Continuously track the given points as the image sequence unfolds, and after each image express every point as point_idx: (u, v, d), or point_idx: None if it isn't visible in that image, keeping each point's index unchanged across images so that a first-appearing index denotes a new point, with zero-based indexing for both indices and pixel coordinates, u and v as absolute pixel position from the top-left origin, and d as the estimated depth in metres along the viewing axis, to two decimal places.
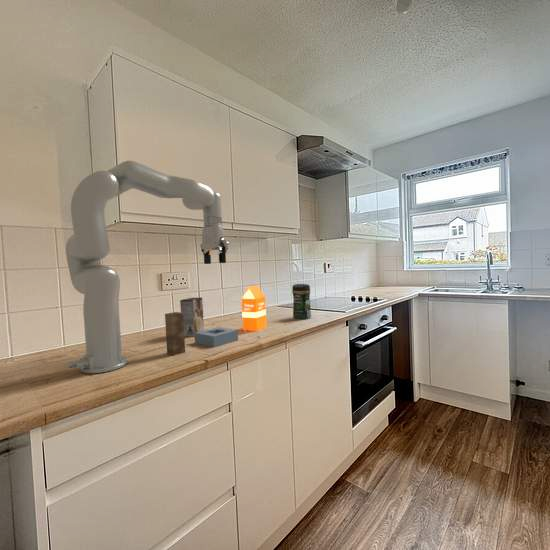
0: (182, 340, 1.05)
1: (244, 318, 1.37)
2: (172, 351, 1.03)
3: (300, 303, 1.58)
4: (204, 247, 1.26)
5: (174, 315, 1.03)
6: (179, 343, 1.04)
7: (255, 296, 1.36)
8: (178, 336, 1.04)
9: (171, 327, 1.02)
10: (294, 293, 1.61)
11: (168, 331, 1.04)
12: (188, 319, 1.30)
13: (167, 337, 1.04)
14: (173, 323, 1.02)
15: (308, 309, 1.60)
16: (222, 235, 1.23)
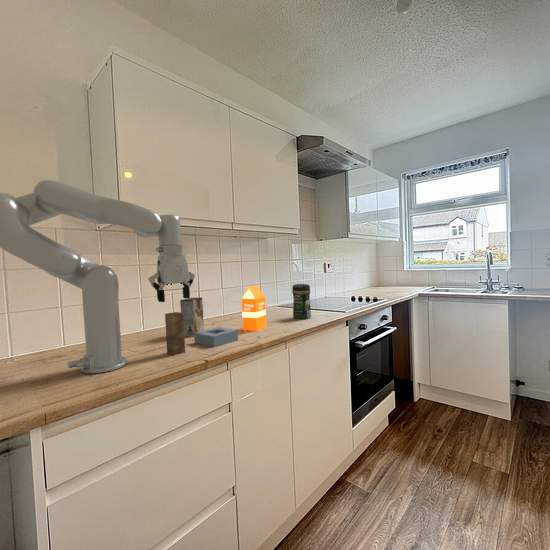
0: (182, 340, 1.05)
1: (244, 318, 1.37)
2: (172, 351, 1.03)
3: (300, 303, 1.58)
4: (169, 281, 1.01)
5: (174, 315, 1.03)
6: (179, 343, 1.04)
7: (255, 296, 1.36)
8: (178, 336, 1.04)
9: (171, 327, 1.02)
10: (294, 293, 1.61)
11: (168, 331, 1.04)
12: (188, 319, 1.30)
13: (167, 337, 1.04)
14: (173, 323, 1.02)
15: (308, 309, 1.60)
16: None
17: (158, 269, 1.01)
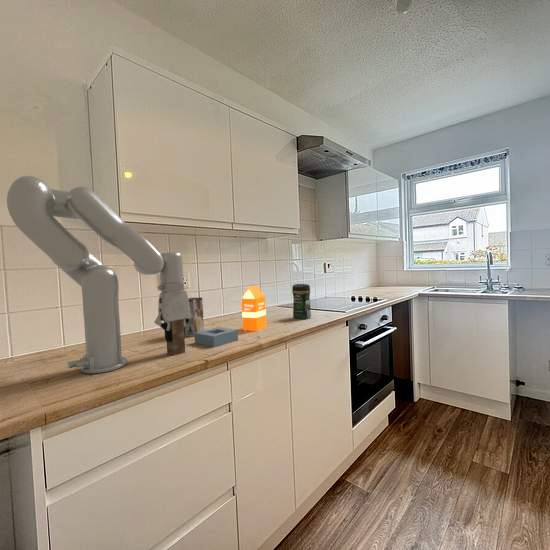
0: (182, 339, 1.05)
1: (244, 318, 1.37)
2: (172, 351, 1.03)
3: (300, 303, 1.58)
4: (171, 318, 1.01)
5: None
6: (179, 343, 1.04)
7: (255, 296, 1.36)
8: (178, 336, 1.04)
9: (171, 327, 1.02)
10: (294, 293, 1.61)
11: None
12: None
13: None
14: (173, 323, 1.02)
15: (308, 309, 1.60)
16: None
17: (159, 306, 1.01)
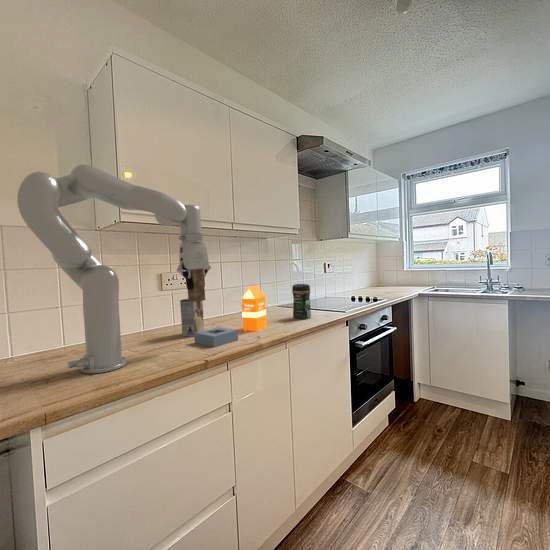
0: (202, 288, 1.11)
1: (244, 318, 1.37)
2: (194, 298, 1.09)
3: (300, 303, 1.58)
4: (191, 267, 1.07)
5: None
6: (199, 290, 1.10)
7: (255, 296, 1.36)
8: (198, 284, 1.10)
9: (192, 275, 1.09)
10: (294, 293, 1.61)
11: None
12: (188, 319, 1.30)
13: None
14: (193, 271, 1.09)
15: (308, 309, 1.60)
16: None
17: (180, 256, 1.08)
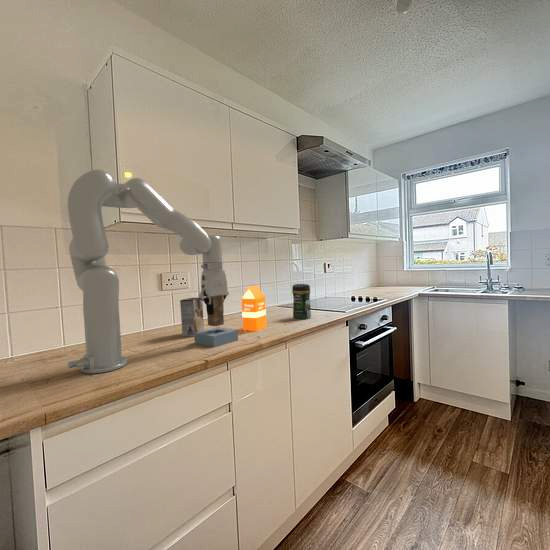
0: (221, 313, 1.18)
1: (244, 318, 1.37)
2: (213, 323, 1.16)
3: (300, 303, 1.58)
4: (212, 294, 1.15)
5: None
6: (218, 315, 1.17)
7: (255, 296, 1.36)
8: (218, 309, 1.17)
9: (213, 301, 1.16)
10: (294, 293, 1.61)
11: None
12: (188, 319, 1.30)
13: None
14: (214, 297, 1.16)
15: (308, 309, 1.60)
16: None
17: (202, 283, 1.15)
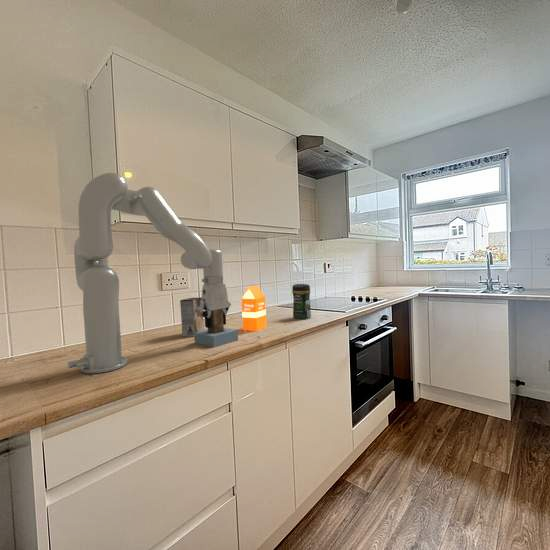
0: (221, 330, 1.18)
1: (244, 318, 1.37)
2: None
3: (300, 303, 1.58)
4: (213, 308, 1.15)
5: None
6: (219, 332, 1.17)
7: (255, 296, 1.36)
8: (218, 326, 1.17)
9: (213, 318, 1.16)
10: (294, 293, 1.61)
11: None
12: (188, 319, 1.30)
13: None
14: (214, 315, 1.16)
15: (308, 309, 1.60)
16: None
17: (203, 297, 1.15)
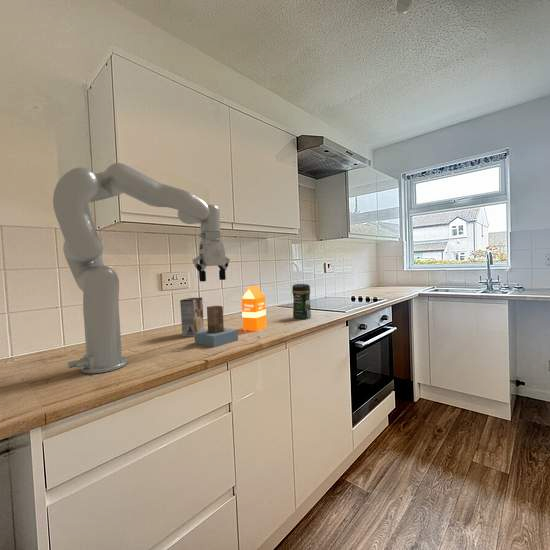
0: (221, 330, 1.18)
1: (244, 318, 1.37)
2: None
3: (300, 303, 1.58)
4: (210, 263, 1.14)
5: (215, 308, 1.16)
6: (219, 332, 1.17)
7: (255, 296, 1.36)
8: (218, 326, 1.17)
9: (213, 318, 1.16)
10: (294, 293, 1.61)
11: (210, 322, 1.17)
12: (188, 319, 1.30)
13: (209, 327, 1.18)
14: (214, 315, 1.16)
15: (308, 309, 1.60)
16: None
17: (200, 252, 1.14)
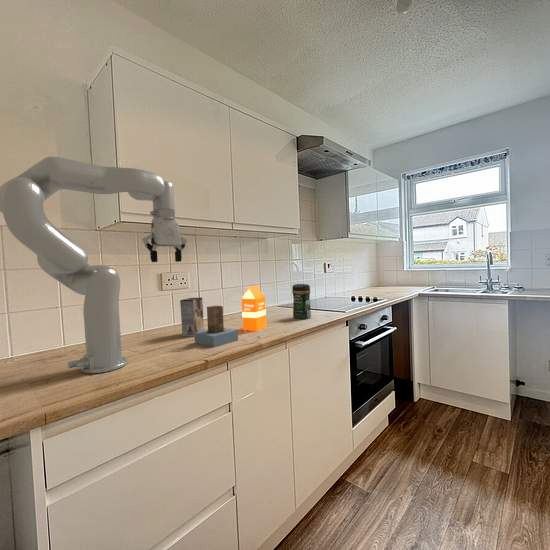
0: (221, 330, 1.18)
1: (244, 318, 1.37)
2: None
3: (300, 303, 1.58)
4: (162, 242, 1.08)
5: (215, 308, 1.16)
6: (219, 332, 1.17)
7: (255, 296, 1.36)
8: (218, 326, 1.17)
9: (213, 318, 1.16)
10: (294, 293, 1.61)
11: (210, 322, 1.17)
12: (188, 319, 1.30)
13: (209, 327, 1.18)
14: (214, 315, 1.16)
15: (308, 309, 1.60)
16: None
17: (151, 231, 1.08)
